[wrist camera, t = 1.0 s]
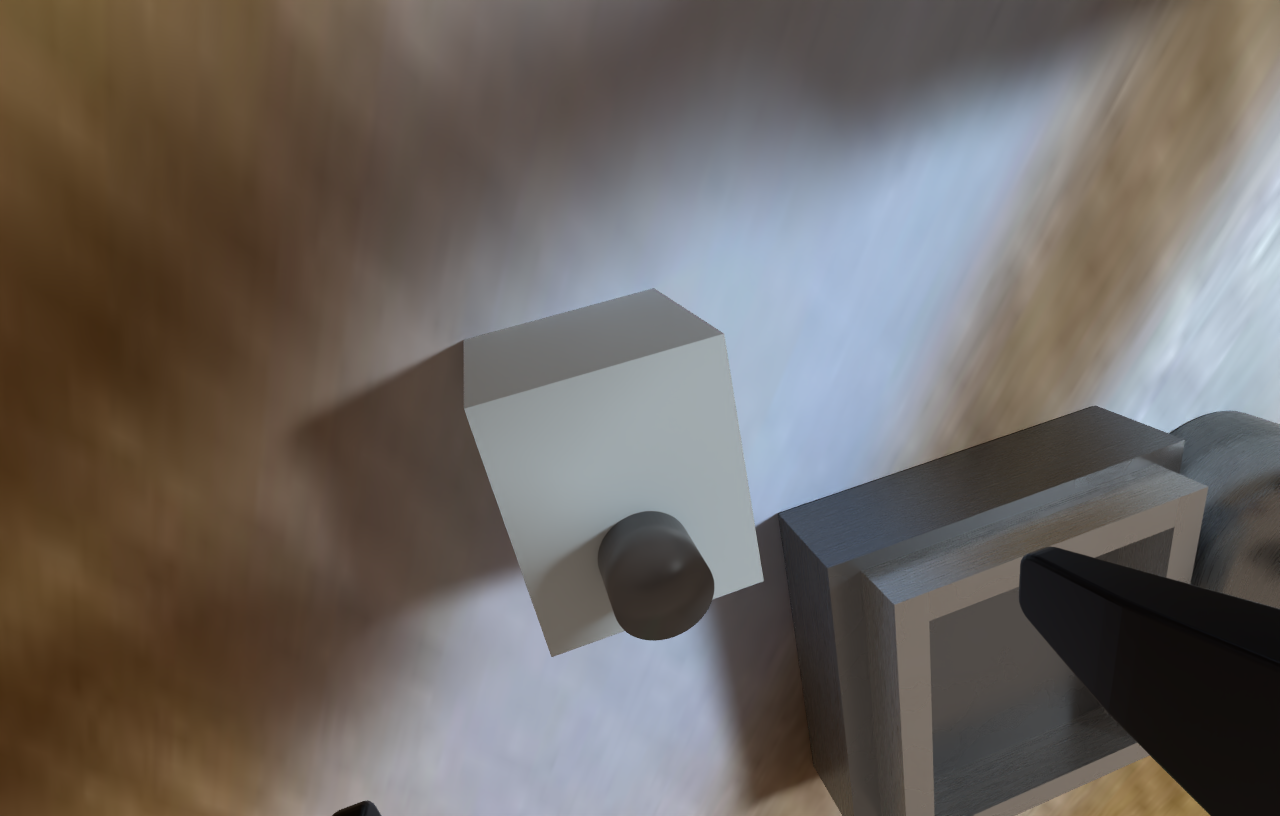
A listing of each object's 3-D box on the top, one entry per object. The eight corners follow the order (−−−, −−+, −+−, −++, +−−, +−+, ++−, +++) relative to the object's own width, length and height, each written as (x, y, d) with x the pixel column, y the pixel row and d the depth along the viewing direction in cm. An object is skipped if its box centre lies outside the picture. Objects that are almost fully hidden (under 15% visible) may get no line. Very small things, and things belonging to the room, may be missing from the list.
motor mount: (1300, 335, 23) (1555, 388, 18) (1242, 590, 28) (1428, 692, 23) (778, 513, 20) (895, 643, 15) (813, 766, 25) (911, 934, 19)
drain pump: (652, 287, 17) (756, 355, 11) (692, 481, 19) (795, 624, 13) (463, 338, 16) (464, 441, 10) (529, 534, 18) (561, 711, 12)
